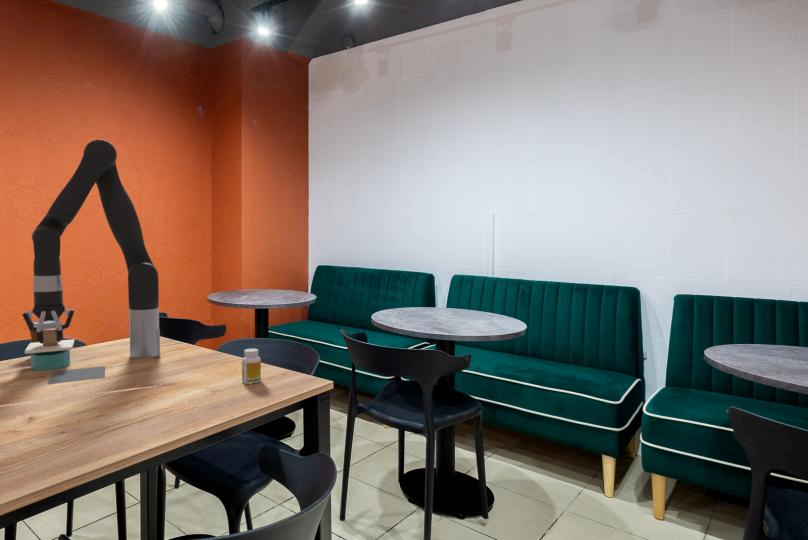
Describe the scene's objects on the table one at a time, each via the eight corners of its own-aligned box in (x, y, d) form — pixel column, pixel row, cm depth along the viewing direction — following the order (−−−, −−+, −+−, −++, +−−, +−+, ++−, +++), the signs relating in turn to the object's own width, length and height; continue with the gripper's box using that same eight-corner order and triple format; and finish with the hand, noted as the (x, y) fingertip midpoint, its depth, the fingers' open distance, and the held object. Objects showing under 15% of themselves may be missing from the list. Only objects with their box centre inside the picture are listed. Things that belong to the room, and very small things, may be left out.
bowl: (71, 361, 166) (70, 346, 166) (68, 369, 158) (68, 353, 157) (34, 365, 161) (33, 350, 161) (29, 373, 153) (29, 357, 152)
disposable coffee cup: (49, 359, 169) (48, 324, 168) (22, 358, 169) (20, 323, 168) (68, 352, 178) (67, 319, 177) (42, 351, 178) (41, 318, 177)
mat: (105, 367, 160) (105, 365, 160) (104, 379, 148) (104, 377, 148) (52, 373, 153) (52, 371, 153) (47, 385, 141) (47, 384, 141)
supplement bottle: (264, 380, 150) (264, 349, 149) (252, 385, 145) (252, 353, 144) (250, 378, 152) (250, 347, 152) (238, 382, 148) (237, 350, 147)
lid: (74, 341, 167) (73, 324, 167) (71, 349, 157) (71, 331, 156) (30, 345, 161) (29, 327, 161) (24, 353, 151) (23, 335, 150)
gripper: (75, 287, 164) (77, 337, 166) (22, 289, 157) (24, 342, 159) (74, 289, 158) (76, 342, 159) (18, 291, 151) (20, 347, 152)
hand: (50, 342), depth 159 cm, fingers closed on lid, 4 cm apart
